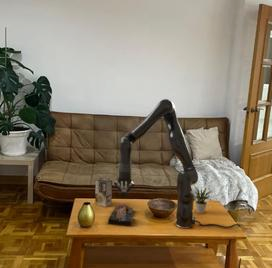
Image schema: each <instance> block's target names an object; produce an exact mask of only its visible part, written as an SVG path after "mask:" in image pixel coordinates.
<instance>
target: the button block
mask: <svg viewBox="0 0 272 268" xmlns="http://www.w3.org/2000/svg"><path fill="white" fill-rule="evenodd" d="M120 208H121V204H119V205H116V206H115V207H114V209H113V211H112V213H117V210H119V209H120ZM133 212H134V207H130V206H129V205H127V206H126V214H132V215H133Z"/></svg>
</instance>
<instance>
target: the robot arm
mask: <svg viewBox="0 0 272 268" xmlns="http://www.w3.org/2000/svg"><path fill="white" fill-rule="evenodd" d="M162 118H163V121H164V123H165V127H166V135H167V139H168V144H169V147H170V149H171V151H172V154H174V155H175V157H176V158H177V159H178V160H179V161H180V163H181V166H182V170H180V171H179V172H178V174H177V178H176V179H177V180H176V192H177V201H176V213H175V219H174V220H175V224H174V225H175V227H178V228H180V229H192V225H196V223H198V225H199V226H201V227H209V226H215V227H220V228H224V229H231V228H233V227H235V226H237V227H239V228H241V225H240V224H238V223H235V224H232V225H230V226H229V225H228V226H225V225H221V224H216V223H208V224H207V223H206V224H202V223H201V221H199V220H196V216H194V202H195V201H194V200H195V197H194V196H195V192H194V191H193V190H191V189H192V188H191V187H192V186H194V185H196V184H197V183H198V181H199V173H198V171H197V168H196V166H195V164H194V162H193V159H192V156H191V154H190V151H189V148H188V144H187V141H186V138H185V136H184V133H183V131H182V128H181V126H180V125H181V124H180V123H179V120H178V117H177V112H176V106H175V104H174V103H173V102H172V101H171V100H170V99H168V98H164V99H161V100H160V101H159V102H158V103H157V104H156V106H155V107H154V108H153V110H152V111H151V112H149V114H148V115H147V116H146V117H145V118H144V119H142V121H140V122H139V123H138V124H137V125H136V126H135V127H134V128H132V130H130V131H129V132H128V133H126V134H125V135H124V136H123V137H122V138H121V139H120V141H119V163H118V178H117V180H116V181H114V183H113V184H114V186H115V187H116V189H117V190H118V192H121V197H122V199H125V198H126V197H128V194H127V193H129V192H130V191H131V190H132V189H133V188H134V187H135V185H136V183H135V182H133V180H132V147H133V144H134V143H136V142H137V141H138V140H140V139H142V138H143V137H144V136H145V135H146V134H147V133H148V132H150V130H151V129H152V127H153V126H154V125H155V124H156V123H157V122H158V121H159V120H160V119H162ZM128 186H129V187H128ZM241 262H242V258H239V262H238V268H241Z"/></svg>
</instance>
